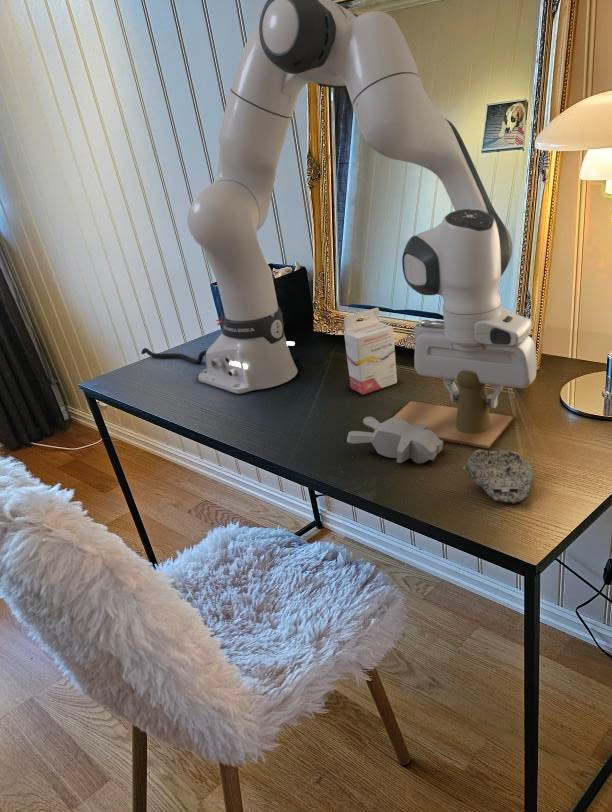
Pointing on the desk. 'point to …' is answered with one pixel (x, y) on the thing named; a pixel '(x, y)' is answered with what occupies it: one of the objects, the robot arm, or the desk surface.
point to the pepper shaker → (472, 404)
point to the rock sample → (501, 474)
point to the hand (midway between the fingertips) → (474, 404)
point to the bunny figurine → (399, 440)
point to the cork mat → (451, 423)
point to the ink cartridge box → (369, 352)
